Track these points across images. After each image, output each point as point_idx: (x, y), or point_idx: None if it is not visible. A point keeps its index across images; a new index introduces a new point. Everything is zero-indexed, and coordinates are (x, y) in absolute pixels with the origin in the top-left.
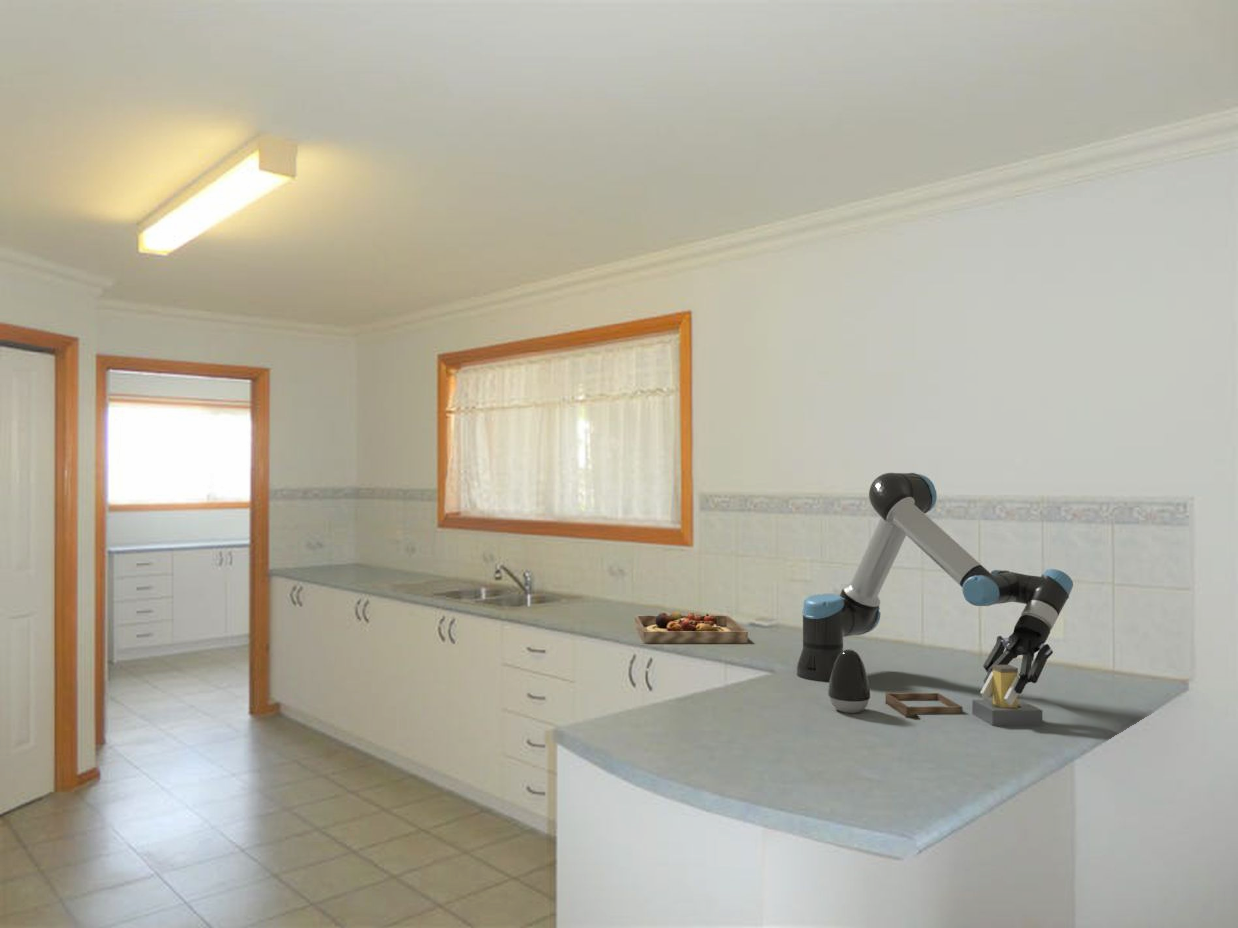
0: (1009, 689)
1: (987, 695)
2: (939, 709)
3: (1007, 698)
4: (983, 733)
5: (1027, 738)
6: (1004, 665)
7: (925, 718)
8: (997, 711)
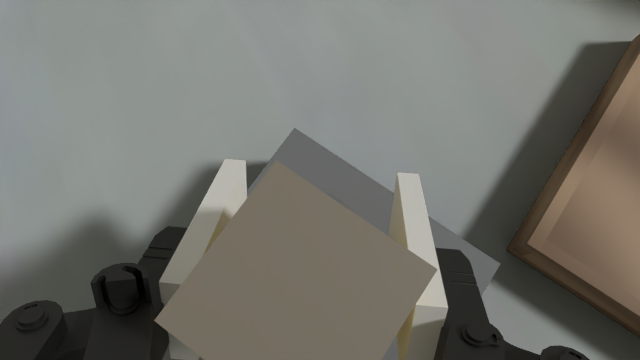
0: (221, 199)
1: (392, 225)
2: (581, 146)
3: (223, 163)
4: (296, 82)
5: (141, 159)
6: (333, 354)
7: (580, 92)
8: (278, 152)
